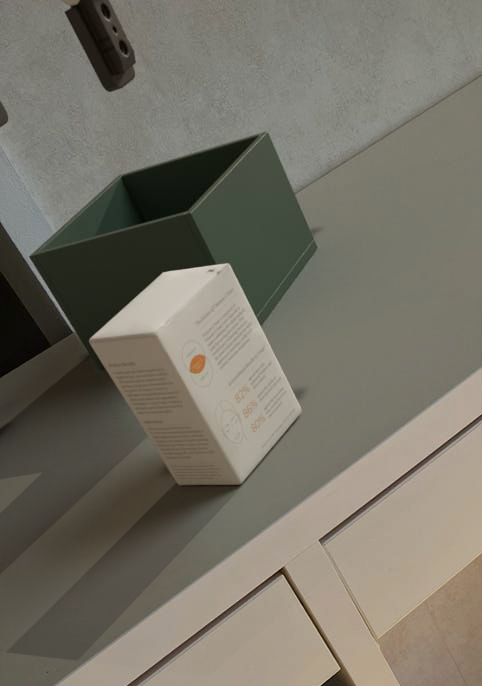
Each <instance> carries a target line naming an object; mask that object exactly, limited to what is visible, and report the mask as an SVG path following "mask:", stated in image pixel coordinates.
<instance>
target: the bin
mask: <svg viewBox="0 0 482 686" xmlns="http://www.w3.org/2000/svg"><path fill="white" fill-rule="evenodd" d="M269 133H270V132H269V131H263V132H259V133H255V134H253V135H249V136H246V137H242V138H239V139H236V140H232V141H229V142H227V143H226V142H225V143H222V144H219V145H216V146H213V147H208V148H205V149H202V150H199V151H195V152H193V153H189V154H186V155H183V156H178V157H175V158H172V159H169V160H166V161H162V162H159V163H156V164H152V165H148V166H145V167H141V168H138V169H135V170H131V171H129V172H125V173H121V174H118V175H117V176H116V177H115V178H114V179H113V180H112V181H111V182H110V183H108V184H107V185H106V186H105V187H104V188H103V189H102V190H101V191H100V192H98V193H97V194H96V195H95V196H94V197H93V198H92V199H91V200H89V201H88V203H86V204H85V205H84V206H83V207H82V208H80V210H78V212H77V213H76V214H74V215H73V216H72V217H70V219H69V220H68V221H67V222H65V223H64V224H63V225H62V226H61V227H60V228H59V229H57V230H56V231H55V232H54V233H53V234H52V235H51V236H50V237H49V238H48V239H47V240H45V241H44V242H43V243H42V244H41V245H40V246H39V247H38V248H37V249H35V250H34V251H33V253H31V254H29V256H28V258H29V259H30V261H31V263H32V264H33V266H34V267H35V270H37V272H38V275H40V277H41V279H42V280H43V282H44V284H45V285H46V287H47V288H48V290H49V292H50V293H51V295H52V297H53V298H54V299H55V301H56V303H57V304H58V306H59V307H60V309H61V311H62V312H63V313H64V315H65V317H66V319H67V320H68V322H69V324H70V325H71V327H72V328H73V331H74V332H75V333H76V335H77V336H78V338H79V340H80V341H81V343H82V344H83V347H85V350H86V351H87V353H88V354H89V355H90V357H91V359H92V360H93V362H94V364H95V365H96V367H97V369H98V370H103V369H105V367H104V366H103V364H102V362H101V361H100V359H99V358H98V356H97V354H96V353H95V351H94V350H93V348H92V346H91V345H90V343H89V339H90V338H91V337H92V336H93V335H94V334H96V333H97V332H98V331H99V330H100V329H101V328H102V327H103V326H105V325H106V324H107V323H108V322H109V321H110V320H111V319H112V318H113V317H114V316H116V315H117V314H118V313H119V312H120V311H121V310H122V309H123V308H124V307H125V306H127V305H128V304H129V303H130V302H131V301H132V300H133V299H134V298H135V297H137V296H138V295H139V294H140V293H141V292H142V291H143V290H144V289H145V288H147V287H148V286H149V285H150V284H151V283H152V282H153V281H154V280H155V279H157V278H158V277H159V276H160V275H161V274H162V273H163V272H169V271H175V270H183V269H190V268H197V267H204V266H211V265H219V264H230V266H231V268H232V270H233V272H234V274H235V276H236V278H237V280H238V282H239V284H240V286H241V288H242V290H243V292H244V294H245V296H246V298H247V300H248V302H249V304H250V306H251V308H252V310H253V312H254V314H255V316H256V318H257V320H258V322H259V324H260V326H261V327H262V325H263V324H264V322H265V321H266V320H267V318H268V317H269V315H270V314H271V313H272V311H273V310H274V308H275V307H276V306H277V305H278V303H279V301H280V300H281V299H282V297H283V296H284V295H285V293H286V292H287V291H288V289H289V288H290V287H291V285H292V284H293V283H294V281H295V280H296V278H297V277H298V276H299V274H300V273H301V272H302V270H303V269H304V267H305V266H306V265H307V264H308V262H309V260H310V259H311V257H312V256H313V254H314V253H315V252H316V251H317V249H319V248H318V244H317V243H316V240H315V238H314V236H313V234H312V231H311V228H310V227H309V224H308V222H307V219H306V217H305V215H304V213H303V210H302V208H301V206H300V203H299V201H298V199H297V196H296V194H295V191H294V189H293V187H292V184H291V182H290V180H289V177H288V176H287V173H286V170H285V168H284V165H283V164H282V161H281V159H280V156H279V154H278V152H277V149H276V147H275V144H274V143H273V140H272V139H271V138H272V137H271V136H270V134H269Z"/></svg>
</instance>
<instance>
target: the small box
mask: <svg viewBox="0 0 482 686" xmlns="http://www.w3.org/2000/svg"><path fill="white" fill-rule="evenodd" d="M89 343H90V345H91V346H92V348H93V350H94V351H95V353H96V354H97V356H98V358H99V359H100V361H101V362H102V364H103V366H104V367H105V368H104V369H105V371H106V372H107V373H108V375H109V376H110V378H111V380H112V381H113V383H114V385H115V387H116V388H117V389H118V392H119V393H120V395H121V396H122V398H123V399H124V401H125V402H126V404H127V406H128V407H129V409H130V411H131V412H132V413H133V415H134V417H135V419H136V420H137V421H138V423H139V425H140V426H141V428H142V430H143V432H144V433H145V435H146V436H147V437H148V439H149V441H150V442H151V444H152V446H153V447H154V449H155V450H156V452H157V454H158V455H159V457H160V458H161V460H162V462H163V464H164V465H165V466H166V468H167V470H168V471H169V473H170V474H171V476H172V477H173V480H174V481H175V482H176V484H177V485H179V486H235V485H236V486H237V485H242V484H243V483H244V482H245V481H246V479H247V478H248V477H249V476H250V475H251V474H252V473H253V471H254V470H255V469H256V467H257V466H258V465H259V464H260V463H261V462H262V460H263V459H264V458H265V457H266V455H268V454H269V452H270V451H271V450H272V448H273V447H274V446H275V445H276V444H277V443H278V441H279V440H280V439H281V438H282V437H283V435H284V434H285V433H286V432H287V430H288V429H289V428H290V427H291V426H292V424H293V423H294V422H295V421H296V420H297V418H298V417H299V416H300V415H301V414H302V411H303V410H302V408H301V407H302V406H301V405H300V403H299V401H298V399H297V397H296V395H295V393H294V391H293V389H292V387H291V385H290V383H289V381H288V379H287V376H286V374H285V373H284V371H283V369H282V366H281V365H280V363H279V360H278V359H277V357H276V355H275V353H274V351H273V349H272V347H271V345H270V343H269V340H268V338H267V336H266V333H264V330H263V328H262V325H261V326H260V324H259V322H258V320H257V318H256V316H255V314H254V312H253V310H252V308H251V306H250V304H249V302H248V300H247V298H246V296H245V294H244V292H243V290H242V288H241V286H240V284H239V282H238V280H237V278H236V276H235V274H234V272H233V270H232V268H231V266H230V264H219V265H211V266H204V267H197V268H190V269H183V270H175V271H169V272H163V273H162V274H161V275H160V276H159V277H158V278H157V279H155V280H154V281H153V282H152V283H151V284H150V285H149V286H148V287H147V288H145V289H144V290H143V291H142V292H141V293H140V294H139V295H138V296H137V297H135V298H134V299H133V300H132V301H131V302H130V303H129V304H128V305H127V306H125V307H124V308H123V309H122V310H121V311H120V312H119V313H118V314H117V315H116V316H114V317H113V318H112V319H111V320H110V321H109V322H108V323H107V324H106V325H105V326H103V327H102V328H101V329H100V330H99V331H98V332H97V333H96V334H94V335H93V336H92V337H91V338H90V339H89Z"/></svg>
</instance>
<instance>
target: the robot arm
mask: <svg viewBox="0 0 482 686" xmlns="http://www.w3.org/2000/svg"><path fill="white" fill-rule="evenodd" d="M60 1H61V2H62V3H64V4H65V5H66V6H70V7H69V8H68V9H65V11H64V15H65V16H66V19H67V20H68V23H69V24H70V26H71V28H72V29H73V32H74V34H75V36H76V37H77V40H78V42H79V43H80V46H81V47H82V49H83V51H84V53H85V55H86V57H87V59H88V61H89V63H90V65H91V66H92V68H93V70H94V73H95V74H96V76H97V78H98V80H99V82H100V84H101V85H102V87H103V89H104V90H105V91H106V92H108V93H112V92H115V91H118V90H120V89H123V88H125V87H126V86H127V85H128V84H130V83H131V82H132V81H133V80H134V79H135V77H136V71H135V67H134V65H135V64H136V63H137V61H136V55H135V50H134V48H133V46H132V43H131V42H130V39H129V38H128V36H127V34H126V32H125V30H124V27H123V25H122V23H121V21H120V19H119V17H118V15H117V13H116V11H115V9H114V6H113V4H112V3H111V1H110V0H60ZM8 122H9V114H8V112H7V110H6V108H5V106H4V105H3V103H2V101H1V100H0V128H2V127H3V126H4V125H6V124H7V123H8Z"/></svg>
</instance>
